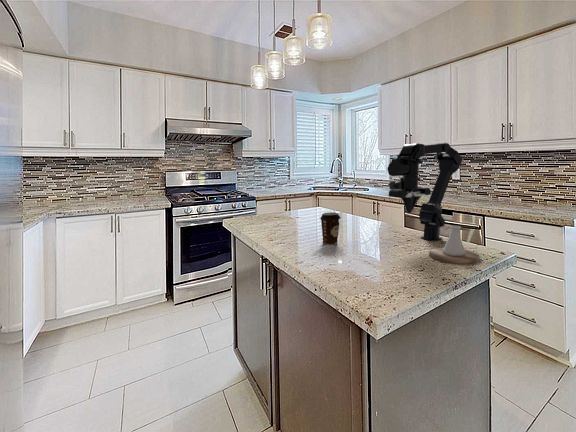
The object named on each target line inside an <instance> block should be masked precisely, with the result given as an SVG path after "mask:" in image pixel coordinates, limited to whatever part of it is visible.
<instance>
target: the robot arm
mask: <svg viewBox="0 0 576 432" xmlns="http://www.w3.org/2000/svg"><path fill="white" fill-rule="evenodd" d="M444 153H445V154H444ZM430 154H436V160H437V162H438V170H439V173H438V176H437V179H436V181H435V182H434V183H435V184H434V186H433V189H432V190H431V189H430V188H429V187H421V186H419V181H421V177H419V169H420V167H419V166H420V164H421V165H422V164H423V161H422V160H421V159H420V158H422V157H424V156H425V155H430ZM462 162H463V158H462V156H461V154H460V153H459V152H458V150H456V149H454V148H453V147H452V146H451V145H450V144H449V143H448V142H441V143H440V142H439V143H435V144H434V143H433V144H423V143H419V142H418V143H409V144H408V143H407V144H404V145H403V146H402V148H401V150H400V152H399V153H398V155H397V156H396V158H391V162H390V163H388V166H387V168H386V169H387V174H388V175H389V176H391V177H400V176H401V177H400V180H399V181H398V182H396V181H395V180H391V181H389V185H388V187H389V191H388V197H391V198H400V200H402V201H403V204H404V206H405V210H406V213H407V214H411V213H412V212H413V210H414V208H415V206H416V205H417V203H418V202H419V200H420V198H422V196H421V195H424V196H430V197H429V199H428V201H427V202H426V203H425V202H424V203H421V207H420V209H419V211H418V212H419V213H418V216H419V221H420V222H419V223H420V224H421V225H424V226H423V228H424V229H423V235H422V236H421V237H420V239H424V240H428V241H434V242H435V241H439V240H443V237H442V236H441V237H440V232H441V228H442V227H444V226H445V224H446V221H445V218H444V217H443V216H442V213H443V209H442V206H441V204H442V202H443V201H444V200H443V199H444V197H445V194H446V192H447V190H448V186H449V184H450V180H451V179H452V175H453V174H455V173H456V172H457V171H458V170H459V168H460V166H461V165H462Z"/></svg>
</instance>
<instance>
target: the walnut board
mask: <svg viewBox="0 0 576 432" xmlns="http://www.w3.org/2000/svg"><path fill="white" fill-rule="evenodd" d="M443 248H444V247H435V248H433V249H432V248H431V249H430V250H429V251H428V256H429V257H430V258H431V259H433V260H435V261H438V262H443V263H447V264H456V265H471V264H477V263H479V262H480V258H481V257H480V255H479V254H478V253H476V252H475V251H471V250H466V249H464V250H465V253H466V255H463V256H451V255H447V254H444V253H443V252H442V250H443Z"/></svg>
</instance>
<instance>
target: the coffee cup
mask: <svg viewBox="0 0 576 432" xmlns="http://www.w3.org/2000/svg"><path fill="white" fill-rule="evenodd" d="M319 219H320V223H321V231H322V234H321V236H322V244H323V245H329V246H331V245H336V244H338V240H339V239H338V238H339V231H340V220H341V216H340V214H339V212H322V213H321V216H320V218H319Z"/></svg>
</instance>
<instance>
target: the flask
mask: <svg viewBox="0 0 576 432" xmlns="http://www.w3.org/2000/svg"><path fill="white" fill-rule="evenodd" d="M449 227H450V233H449V236H448V239H447V241H446V243H445V245H444V246H443V247H442V248H443V250H442V252H443V253H444V254H447V255H451V256H463V255H466V253H465V250H466V249H465V248H464V245H463V241H462V239H461V233H460V230H461V229H462V227H461V226H459V225H450V226H449Z"/></svg>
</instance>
